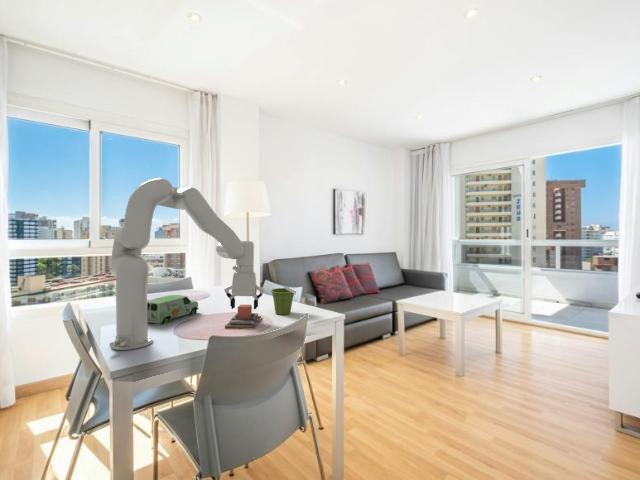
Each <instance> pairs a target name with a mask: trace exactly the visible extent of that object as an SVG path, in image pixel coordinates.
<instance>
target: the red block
mask: <svg viewBox="0 0 640 480" xmlns="http://www.w3.org/2000/svg"><path fill="white" fill-rule="evenodd" d="M252 309H253V308H252V304H239V305H238V306H237V313H238V318H252V313H253V310H252Z"/></svg>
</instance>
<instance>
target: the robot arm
mask: <svg viewBox="0 0 640 480" xmlns="http://www.w3.org/2000/svg"><path fill="white" fill-rule="evenodd" d="M157 206H161V207H165V208H169V209H175V210H182V211H184V210H185V212H186V213H187V214H188V216H189V217H190V218H191V219H192V221H193V222H194V224H195V225H196V226H197V227H198V229H199V230H201V231H202V232H203V233H206V234H207V235H209V236H211V237H212V238H214V239H215V240H216V241H217V242H218V244H217V245H216V248H215V252H216V254H217V255H218V256H219V257H221V258H222V259H223V258H224V259H230V260H235V265H234V266H232V270H233V271H234V272H233V275H232V282H231V285H230V286H228V287H226V288H224V292H225V294H226V296H227V297H228V299H229V300H230V302H229V303H230V307H231V310H233V309H235V308H236V299H235V297H253V310H257V308H258V307H259V299H260V298H261V297H262V296H263V294H264V292H265V289H264V288H263V287H261V286H259V285H257V278H256V277H257V276H256V272H255V271H254V267H255V265H254V264H255V259H254V257H255V256H254V255H255V252H254V251H255V249H254V248H255V246H254V245H255V243H254V242H253V241H251V240H249V241H248V240H241V239H240V238H239V236H238V235H237V234H236V232H235V231H234V230H233V228H231V227H230V226H229V225H228V224H227V223H226V222H224V221H223V220H222V219H221V218H220V217H219V216H218V215H217V213H216V212H215V211H214V210H213V208H212V207H211V205H210V204H209V203H208V202H207V200H206V199H205V197H204V196H203V195H202V193H201V192H200V191H199V190H198V189H197V188H196V187H193V186H192V187H190V186H188V187H184V188H179V187H174V186H173V185H172V183H171V181H169V180H167V179H166V178H162V177H158V178H153V179H150V180H148V181H147V180H146V182H143V183H141V184H140V185H139V186H138V187H136V189H135V190H134V191H133V192H132V193H131V195H130V197H129V199H128V201H127V204H126V208H125V213H124V220H123V223H122V224H123V225H121V226H119V228H118V229H117V230H116V232H115V235H114V239H113V246H112V251H111V252H112V253H111V259H110V260H111V261H110V269H111V272H112V274H113V275H114V276H116V283H115V310H116V311H115V318H116V321H115V322H116V324H115V326H116V327H115V328H116V334H115V340H113V341H111V342H110V343H109V348H110V349H113V350H116V351H129V350H137V349H140V348H145V347H146V346H149V345H151V344H152V343H153V337H152V336H151V335H150V336H149V335H148V334H149V333H148V331H149V330H148V328H149V327H148V326H149V325H148V323H149V322H148V321H147V301H148V280H149V265H148V263H147V261H146V259H144V258H143V257H142V251H143V249H145V248H146V247H147V246H148V245H149V243H150V239H151V232H152V225H153V224H152V223H153V218H154V212H155V210H156V208H157ZM230 290H231V292H230ZM258 291H259V293H257V292H258Z"/></svg>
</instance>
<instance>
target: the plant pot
mask: <svg viewBox="0 0 640 480" xmlns="http://www.w3.org/2000/svg"><path fill="white" fill-rule="evenodd" d="M270 292H271V294H272V299H273V304H274V312H275V314H276V315H279V316H282V315H284V316H285V315H289V314H291V311H292V304H293V299H294V296H295V292H293V291H291V290H289V289H288V288H286V287H282V288H272V289H271V290H270Z"/></svg>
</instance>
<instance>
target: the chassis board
mask: <svg viewBox="0 0 640 480" xmlns="http://www.w3.org/2000/svg"><path fill="white" fill-rule="evenodd" d="M260 318H261V319H262V315H259V313H257V312H256V313H253V312H252V318H238V312H237V313H235V315H234V316H233V317H232V318H231V319H230V320H229V321H228V322H227V323H226V324H225V325H224V329H226V328H238V330H239V329H240V330H244V329H243V328H254V329H256V327H257V326H258V324H257V323H259V322H260V321H259V320H261V319H260ZM258 321H259V322H258ZM255 326H256V327H255Z"/></svg>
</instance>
